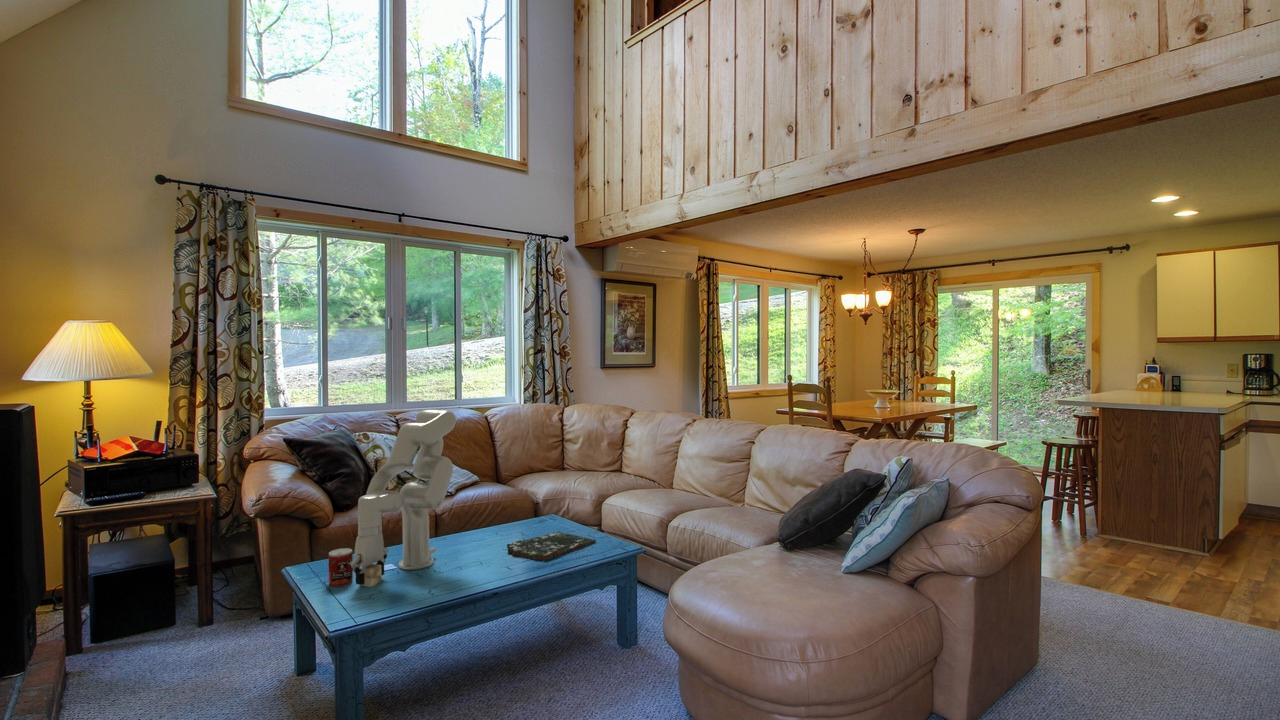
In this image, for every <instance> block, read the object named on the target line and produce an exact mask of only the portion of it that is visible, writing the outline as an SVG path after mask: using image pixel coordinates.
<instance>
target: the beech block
mask: <svg viewBox="0 0 1280 720" xmlns="http://www.w3.org/2000/svg"><path fill="white" fill-rule="evenodd" d="M360 569H361V567H360ZM363 573H364V574H365V583H364V585H360V587H361V586H362V587H369V588H370V587H373V586H376V585H378V584H380V583H382V576H383V575H381V565H378V564H376V563H373V564H370V565H368V566H366V567H365V569H364V571H363Z"/></svg>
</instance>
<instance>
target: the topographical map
mask: <svg viewBox="0 0 1280 720" xmlns="http://www.w3.org/2000/svg"><path fill="white" fill-rule="evenodd" d="M595 543H597V541H596V539H593V538H589V537H584V536H580V535H575V534H571V533H566V532H561V531H555V532H552V533H547V534H544V535H539V536H536V537H532V538H528V539H521V540H517V541H515V542H511V543H507V544H506V548H507V555H512V557H514V558H522V559H523V558H524V559H528V560H533V561H539V562H544V563H545V562H547V561H551V560H553V559H556V558H558V557H561V556H565V555H566V554H569V553H571V552H572V553H573V552H575V551H577V550H580V549H582V548H583V549H584V547H587V546H591V545H592V544H595Z"/></svg>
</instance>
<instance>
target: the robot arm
mask: <svg viewBox="0 0 1280 720" xmlns="http://www.w3.org/2000/svg"><path fill="white" fill-rule="evenodd" d="M415 421H416V422H406V423H404V424H402V425H401V426H400V428H399V430H398V432H397V436H396V438H395V441H394V444H393V447H392V450H391V453H390V455H389V458H388V460H387V462H386V463H384V464H383V465H382V466H381V467H380V468H379V469H378V470H377V472H376V473H374V475H373V477H372V478H371V480H370V483H369V485H368V487H367V490H366V493H365V495H362V496H360V497H359V498H358V501H357V524H358V525H357V526H358V527H357V530H358V531H357V533H358V534H357V536H356V540H355V545H354V552H353V553H354V554H353V555H354V556H353V561H352V562H351V564H350V565H351V567H352V570H353V574H354V573H355V584H356V585H359V586H361V585H364V583H365V574H364V573H363V571H364V569H365V567H366V566H368V565H370V564H378V565H381V575H382V576H384V575H385V564H386V559H387V557H388V552H389V548H388V547H385V544H384V536H383V532H382V515H384V514H391V513H396V512H398V511H399V510H401V513H402V515H401V516H402V560H400V561H399V562H398V568H399V569H402V570H408V571H412V570H420V569H424V568H428V567H431V566H432V565H433V564H434V561H435V559H434V558H433V557H432V556H431V555H432V554H434V553H436V551H437V549H436V548H435V547H432V548H430V516H429V512H428V510H435V509H438V508H439V507H440V506H441V505H442V504H443V502H444V500H445V498H446V494H447V493H448V489H449V486H450V484H451V480H452V477H453V473H454V472H453V471H454V466H453V465H454V464H453V463H452V460H451V459H450V458H449V457H448V456H445V455H444V456H442V453H443V450H444V445H445V444H444V439H443V437H445V436H446V435H447V434H449V433H450V432H451V431H453V429H454V428H455V426H456V423H457V417H456V415H455V414H454V412H452V411H450V410H448V409H447V410H446V409H423V410H420V411H418V413H417V414H416V416H415ZM419 446H420V447H419ZM418 448H419V450H418ZM417 451H418V453H417ZM412 466H413V468H412ZM411 468H412V474H413V476H414V477H415V478H416V479H418V480H425V481H428V482H424V481H423V482H421V481H411V482H407V483H405V484H404V485H403V486H401V488H400V489H399V490H400V491H399V492H398V491H395V490H387V489H386V488H387V486H388V484H389V482H390V481H391V480H392V479H394V477H395V476H398V474H401V473H403V472H405V471H407V470H409V469H411ZM360 568H361V569H360Z"/></svg>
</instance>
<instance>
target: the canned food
mask: <svg viewBox="0 0 1280 720" xmlns="http://www.w3.org/2000/svg"><path fill="white" fill-rule="evenodd" d="M353 553H354V552H353V549H352V548H348V547H347V548H345V547H344V548H337V549H333V550H331V551H329V552H328V583H329V586H332V587H342V586H346V585H349V584H351V583H352V582H353V579H354V576H353V575H354V571H353V570H352V567H351V565H350V564H351V562H352V561H353V560H354V556H353V555H354V554H353Z"/></svg>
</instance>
